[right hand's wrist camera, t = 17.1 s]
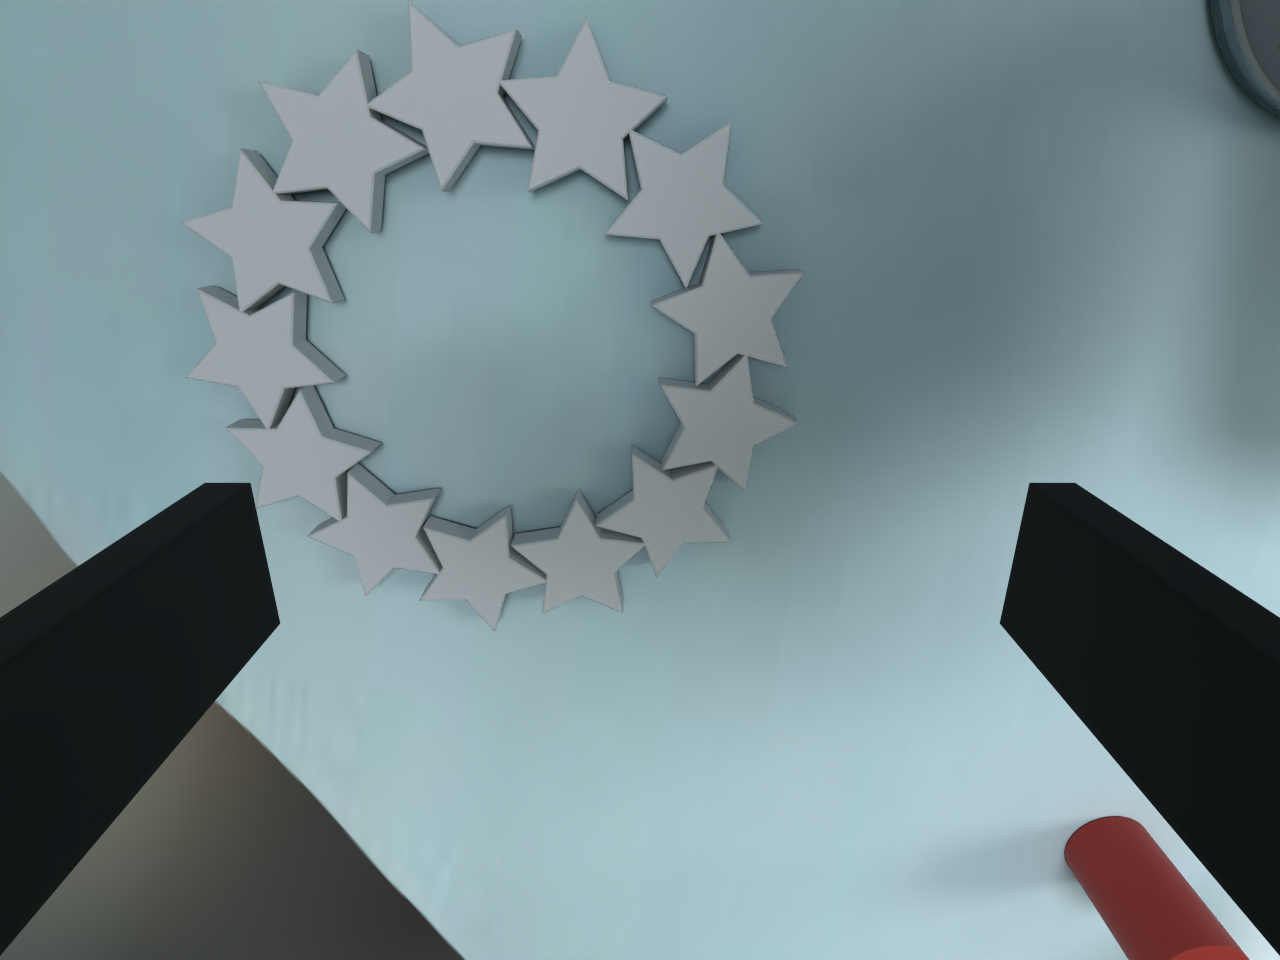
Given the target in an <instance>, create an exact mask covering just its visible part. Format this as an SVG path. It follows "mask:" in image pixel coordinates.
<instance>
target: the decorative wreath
mask: <svg viewBox="0 0 1280 960" xmlns="http://www.w3.org/2000/svg"><path fill="white" fill-rule="evenodd" d="M408 11H409V31H410V52H411V71H410V72H409V73H408V74H406V75H405V76H404V77H402V78H401V79H400V80H398V81H397V82H396V83H394V84H393V85H392V86H390V87H389V88H388V89H386V90H385V91H384V92H382V93H381V94H380V95H378V96H377V95H376V90H375V84H374V79H373V74H372V69H371V64H370V59H369V55H367V54H365V53H363V52H361V51H359V50H356V51H355V52H354V53H353V54H352V56H351V57H350V58H349V59H348V60H347V62H346V63H345V64H344V65H343V66H342V67H341V69H340V70H339V71H338V72H337V73H336V75H335V76H334V77H333V78H332V79H331V81H330V82H329V83H328V84H327V85H326V87H325V88H324V89H323V90H322V91H321V93H320V94H319V95H316V94H311V93H307V92H303V91H299V90H295V89H291V88H287V87H283V86H279V85H275V84H271V83H267V82H263V81H259V80H258V82H259V83H260V85H261V87H262V89H263V90H264V92H265V94H266V96H267V97H268V99H269V101H270V103H271V104H272V106H273V108H274V110H275V112H276V113H277V115H278V117H279V119H280V120H281V122H282V124H283V126H284V127H285V129H286V131H287V133H288V134H289V136H290V138H291V140H292V142H291V144H290V147H289V149H288V152H287V155H286V157H285V160H284V163H283V165H282V168H281V170H280V173H279V176H278V178H277V176H276V175H275V174H274V173H273V171H272V170H271V169H270V167H269V166H268V165H267V163H266V162H265V161H264V159H263V158H262V157H261V156H260V154H259V153H258V152H257V151H256V150H248V149H240V155H239V161H238V168H237V175H236V181H235V188H234V195H233V201H232V207H230V208H226V209H223V210H220V211H216V212H213V213H210V214H206V215H203V216H200V217H196V218H193V219H190V220H186V221H183V222H181V223H182V224H184V225H185V226H186V227H188V228H189V229H191V230H192V231H194V232H195V233H196V234H198V235H199V236H201V237H202V238H203V239H205V240H206V241H208V242H209V243H211V244H212V245H213V246H215V247H216V248H218V249H219V250H220V251H222V252H223V253H225V254H226V255H228V256H229V257H230V258H232V264H233V271H234V278H235V284H236V291H237V297H236V296H234V295H232V294H230V293H228V292H226V291H224V290H222V289H220V288H219V287H217V286H215V285H213V286H208V287H203V288H198V289H197V290H198V293H199V296H200V298H201V301H202V304H203V307H204V310H205V313H206V316H207V319H208V321H209V324H210V327H211V330H212V333H213V336H214V339H215V342H216V343H215V344H214V345H213V346H212V348H211V349H210V350H209V351H208V352H207V353H206V354H205V356H204V357H203V358H202V359H201V360H200V361H199V362H198V364H197V365H196V366H195V367H194V368H193V369H192V370H191V372H190V373H189V374H188V375H187V376H186V377H185V378H189V379H195V380H201V381H207V382H213V383H218V384H224V385H230V386H236V387H238V388H239V389H240V390H241V392H242V393H243V395H244V396H245V398H246V399H247V401H248V402H249V404H250V405H251V407H252V408H253V410H254V411H255V413H256V414H257V416H258V417H259V419H260V420H247V419H240V420H238V421H237V422H235V423H233V424H231V425H229V426H228V427H226V428H227V429H228V431H229V432H230V433H231V434H232V435H233V436H234V437H235V438H236V439H237V440H238V441H239V442H240V443H241V444H242V445H243V446H244V447H245V448H246V449H247V450H248V451H249V452H250V454H251V455H252V456H253V457H254V458H255V459H256V460H257V461H258V462H259V463H260V464H261V465H262V466H263V468H262V473H261V479H260V485H259V490H258V496H257V501H256V509H257V508H260V507H264V506H267V505H270V504H274V503H277V502H280V501H283V500H287V499H290V498H293V497H297V496H300V497H302V498H303V499H305V500H306V501H308V502H309V503H311V504H313V505H314V506H316V507H317V508H319V509H321V510H322V511H324V512H325V513H327V514H329V515H330V516H332V517H333V518H332V519H329V520H327V521H325V522H323V523H321V524H319V525H318V526H317V527H316V528H315V529H314V530H313V531H312V532H311V533H310V534H309V535H308V537H310V538H312V539H315V540H317V541H320V542H322V543H324V544H327V545H329V546H331V547H334V548H336V549H338V550H341V551H343V552H345V553H348V554H350V555H353V558H354V561H355V564H356V567H357V570H358V573H359V576H360V580H361V583H362V586H363V589H364V592H365V595H366V596H367V595H368V594H369V593H370V592H371V591H372V590H373V589H374V588H375V587H376V586H377V585H378V584H379V583H380V582H381V581H382V580H383V579H384V578H385V577H386V576H387V575H388V574H389V573H390V571H391V570H392V569H393V568H401V569H407V570H414V571H420V572H427V573H434V574H436V575H435V576H434V577H433V579H432V580H431V582H430V583H429V584H428V586H427V587H426V589H425V591H424V593H423V595H422V596H421V598H420V600H466V601H467V602H468V603H469V604H470V606H471V607H472V608H473V609H474V610H475V611H476V612H477V613H478V614H479V615H480V616H481V617H482V619H483V620H484V621H485V622H486V623H487V624H488V625H489V626H490V627H491V628H492V629H493V630H494V631H495V630H496V627H497V624H498V621H499V618H500V614H501V611H502V607H503V604H504V600H505V597H506V594H508V593H511V592H515V591H518V590H522V589H525V588H529V587H533V586H536V585H540V584H543V583H546V584H545V592H544V601H543V609H542V614H544V613H546V612H548V611H550V610H552V609H554V608H556V607H559V606H561V605H563V604H565V603H567V602H569V601H571V600H573V599H575V598H577V597H579V596H584V597H586V598H588V599H591V600H593V601H595V602H597V603H600V604H602V605H604V606H607V607H609V608H611V609H614V610H616V611H618V612H621V613H623V596H622V591H621V587H620V582H619V578H618V573H617V571H618V570H619V569H620V568H621V567H622V566H623V565H624V564H625V563H626V562H628V561H629V560H630V559H631V558H632V557H633V556H634V555H635V554H636V553H637V552H639V551H640V550H641V549H642V548H643V547H644V546H645V548H646V551H647V554H648V556H649V559H650V561H651V564H652V567H653V569H654V572H655V575H656V577H658V575H659V574H660V573H661V571H662V570H663V569H664V568H665V566H666V565H667V564H668V562H669V561H670V560H671V558H672V557H673V556H674V555H675V553H676V552H677V551H678V549H679V548H680V547H681V546H682V544H683V543H707V542H731V540H730V536H729V532H728V530H727V529H726V527H725V526H724V525H723V524H722V522H721V521H720V520H719V519H718V518H717V516H716V515H715V514H714V513H713V511H712V510H711V509H710V508H709V506H708V505H707V504H706V503H705V501H706V498H707V496H708V493H709V490H710V487H711V485H712V482H713V479H714V476H715V474H716V471H717V468H719V469H720V470H721V471H722V472H723V473H725V474H726V475H727V476H728V477H729V478H730V479H731V480H732V481H733V482H734V483H735V484H737V485H738V486H739V487H740V488H741V489H742V490H743V491H744V492H745V491H746V485H747V480H748V474H749V468H750V463H751V457H752V451H753V446H755V445H757V444H759V443H761V442H763V441H765V440H767V439H769V438H771V437H773V436H775V435H777V434H779V433H781V432H783V431H785V430H787V429H789V428H791V427H793V426H795V425H797V424H799V422H798V421H797V419H796V418H795V417H794V415H792V414H790V413H788V412H785V411H783V410H781V409H779V408H776V407H774V406H772V405H770V404H768V403H765V402H763V401H761V400H759V399H756V398H754V397H753V391H752V383H751V376H750V369H749V361H748V357H751V358H755V359H758V360H762V361H765V362H769V363H772V364H776V365H780V366H783V367H787V365H786V362H785V359H784V355H783V352H782V349H781V346H780V343H779V340H778V337H777V334H776V331H775V327H774V324H773V321H772V317H773V316H774V315H775V313H776V312H777V310H778V309H779V308H780V306H781V305H782V303H783V302H784V301H785V299H786V298H787V296H788V295H789V294H790V292H791V291H792V290H793V288H794V287H795V285H796V284H797V283H798V281H799V280H800V278H801V277H802V276H803V274H804V273H805V272H803V271H801V270H799V269H797V270H781V271H764V272H747V271H746V269H745V268H744V266H743V265H742V264H741V262H740V261H739V259H738V258H737V257H736V255H735V254H734V252H733V251H732V250H731V248H730V247H729V245H728V244H727V243H726V241H725V240H724V238H723V237H722V236H721V233H725V232H730V231H734V230H739V229H743V228H748V227H752V226H757V225H761V224H764V223H763V222H762V221H761V220H760V219H759V218H758V217H757V216H756V215H755V214H754V213H753V212H752V211H751V210H750V209H749V208H748V207H747V206H746V205H744V204H743V203H742V202H741V201H740V200H739V199H738V198H737V197H736V196H735V195H734V194H733V193H732V192H731V191H730V190H729V189H728V188H727V187H726V186H725V185H724V177H725V169H726V162H727V154H728V147H729V139H730V132H731V125H732V121H731V122H730V123H728V124H727V125H725V126H723V127H722V128H720V129H719V130H717V131H716V132H714V133H713V134H711V135H710V136H708V137H707V138H705V139H704V140H702V141H700V142H699V143H697V144H696V145H694V146H693V147H691V148H690V149H688V150H687V151H685V152H684V153H682V154H680V153H678V152H675V151H673V150H671V149H669V148H667V147H665V146H663V145H661V144H659V143H657V142H655V141H653V140H651V139H649V138H647V137H645V136H643V135H641V134H639V133H637V132H635V130H636V129H637V128H638V127H639V126H640V125H641V124H642V123H643V122H644V121H645V120H646V119H648V118H649V117H650V116H651V115H652V114H653V113H654V112H655V111H656V110H657V109H658V108H659V107H660V106H662V105H663V104H664V103H665V102H666V101H667V98H668V96H665V95H661V94H657V93H653V92H650V91H646V90H642V89H638V88H635V87H631V86H627V85H623V84H619V83H616V82H612V81H610V80H609V77H608V74H607V71H606V69H605V66H604V63H603V61H602V58H601V55H600V52H599V50H598V47H597V44H596V41H595V39H594V36H593V33H592V31H591V28H590V25H589V22H588V20H587V17H586V18H585V20H584V22H583V24H582V26H581V28H580V30H579V32H578V34H577V36H576V38H575V40H574V42H573V44H572V46H571V48H570V50H569V52H568V54H567V56H566V58H565V60H564V62H563V64H562V66H561V68H560V70H559V72H558V74H557V76H551V77H538V78H524V79H511V80H509V77H510V74H511V71H512V67H513V64H514V61H515V58H516V54H517V51H518V48H519V44H520V41H521V38H522V35H521V34H520V33H519V31H518V30H517V29H515V30H512V31H509V32H505V33H502V34H499V35H495V36H492V37H489V38H486V39H482V40H479V41H476V42H472V43H469V44H466V45H463V46H458V45H457V44H456V43H455V42H454V41H453V40H452V39H451V38H450V37H448V36H447V35H446V34H445V33H444V32H443V31H442V30H441V29H440V28H439V27H437V26H436V25H435V24H434V23H433V22H432V21H431V20H430V19H429V18H428V17H426V16H425V15H424V14H423V13H422V12H421V11H420V10H419V9H418V8H416V7H415V6H414V5H413V4H412V3H411V2H409V1H408ZM505 91H506V92H507V93H508V95H509V96H510V97H511V98H512V99H513V101H514V102H515V103H516V104H517V105H518V107H519V108H520V109H521V110H522V111H523V113H524V114H525V115H526V116H527V118H528V119H529V120H530V121H531V122H532V124H533V125H534V126H535V127H536V128H537V130H538V136H537V141H536V147H534V145H533V144H532V142H531V140H530V139H529V137H528V136H527V134H526V132H525V131H524V129H523V128H522V126H521V124H520V123H519V121H518V120H517V118H516V116H515V115H514V113H513V112H512V110H511V108H510V107H509V105H508V104H507V102H506V101H505V99H504V93H505ZM380 113H383V114H385V115H387V116H390V117H392V118H394V119H397V120H399V121H402V122H404V123H406V124H409V125H411V126H414V127H416V128H418V129H421V130H422V132H423V135H424V138H425V141H426V144H427V147H426V146H425V145H423V144H421V143H420V142H418V141H416V140H414V139H413V138H411V137H409V136H408V135H406V134H404V133H403V132H401V131H399V130H398V129H396V128H394V127H393V126H391V125H389V124H387V123H386V122H384V121H382V120H381V115H380ZM628 136H630V141H631V145H632V150H633V155H634V159H635V164H636V169H637V173H638V178H639V182H640V187H641V191H640V192H639V193H638V194H637V195H636V197H635V198H634V199H633V200H632V201H631V203H630V204H629V205H628V206H627V207H626V209H625V210H624V211H623V212H622V213H621V215H620V216H619V217H618V218H617V219H616V221H615V222H614V223H613V224H612V225H611V227H610V228H609V229H608V230H607V231H606V233H605V234H604V235H615V236H626V237H638V238H649V239H659V240H660V241H661V243H662V245H663V247H664V249H665V251H666V252H667V254H668V256H669V258H670V260H671V262H672V264H673V265H674V267H675V269H676V271H677V273H678V275H679V276H680V278H681V280H682V282H683V284H684V286H685V288H684V289H682V290H679V291H676V292H674V293H671V294H668V295H666V296H663V297H661V298H658V299H655V300H653V301H651V306H653V307H654V308H656V309H657V310H659V311H660V312H662V313H663V314H665V315H666V316H668V317H669V318H671V319H673V320H674V321H676V322H677V323H679V324H680V325H682V326H683V327H685V328H686V329H688V330H689V331H691V332H692V333H694V380H695V382H689V381H681V380H673V379H665V378H659V385H660V386H661V388H662V390H663V392H664V393H665V395H666V397H667V399H668V400H669V402H670V404H671V406H672V407H673V409H674V411H675V412H676V414H677V416H678V418H679V419H680V421H681V423H680V425H679V427H678V429H677V431H676V433H675V435H674V437H673V439H672V441H671V443H670V445H669V447H668V449H667V451H666V453H665V455H664V457H663V458H662V460H661V463H659V462H658V461H656V460H655V459H653V458H652V457H650V456H649V455H647V454H646V453H644V452H643V451H641V450H640V449H638V448H637V447H635V446H634V445H632V474H633V490H632V491H630V492H629V493H627V494H626V495H624V496H623V497H622V498H620V499H619V500H617V501H616V502H614V503H613V504H612V505H610V506H609V507H607V508H606V509H605V510H603V511H602V512H600V513H599V514H597V518H596V517H595V516H594V514H593V512H592V510H591V509H590V507H589V505H588V504H587V502H586V500H585V499H584V497H583V495H582V494H581V492H580V490H579V489H578V491H577V493H576V495H575V497H574V499H573V502H572V504H571V506H570V508H569V510H568V512H567V514H566V516H565V518H564V520H563V522H562V524H561V526H560V527H558V528H552V529H545V530H538V531H532V532H525V533H518V534H515V536H514V538H513V532H512V516H511V504H510V505H509V506H507V507H506V508H504V509H503V510H502V511H500V512H499V513H497V514H496V515H495V516H493V517H492V518H491V519H489V520H488V521H486V522H485V523H484V524H482V525H481V526H479V527H478V528H477V529H473V528H470V527H466V526H463V525H459V524H456V523H453V522H449V521H446V520H442V519H439V518H435V517H432V516H430V517H429V519H428V520H427V522H426V524H425V525H424V523H425V521H426V518H427V516H428V514H429V512H430V510H431V508H432V506H433V503H434V501H435V499H436V497H437V495H438V493H439V491H440V488H437V489H431V490H424V491H417V492H410V493H404V494H397V495H395V494H394V493H392V492H391V491H390V490H389V489H388V488H387V487H385V486H384V485H383V484H382V483H381V482H379V481H378V480H377V479H376V478H375V477H374V476H372V475H371V474H370V473H369V472H368V471H367V470H365V469H364V468H363V467H362V466H361V465H359V464H358V463H357V462H359V461H360V460H362V459H363V458H364V457H366V456H367V455H369V454H370V453H371V452H373V451H374V450H375V449H376V448H377V447H378V446H379V445H380V444H381V443H380V442H377V441H374V440H370V439H367V438H364V437H361V436H357V435H354V434H351V433H348V432H344V431H341V430H338V429H335V428H333V426H332V424H331V422H330V419H329V417H328V415H327V413H326V411H325V409H324V407H323V404H322V402H321V400H320V398H319V396H318V394H317V392H316V389H315V387H314V385H319V384H327V383H335V382H337V381H338V380H340V379H342V378H343V377H345V376H346V375H345V374H343V373H342V372H341V371H340V370H339V369H338V368H337V367H336V366H334V365H333V364H332V363H331V362H330V361H329V360H328V359H327V358H326V357H324V356H323V355H322V354H321V353H320V352H319V351H318V350H317V349H315V348H314V347H313V346H312V345H311V344H310V343H309V342H308V341H307V340H306V310H307V294H309V295H311V296H314V297H317V298H319V299H322V300H325V301H328V302H330V303H336V302H338V301H341V300H344V297H343V295H342V293H341V290H340V288H339V285H338V283H337V281H336V278H335V276H334V274H333V271H332V269H331V267H330V264H329V262H328V260H327V257H326V255H325V252H324V250H323V248H322V247H323V245H324V243H325V242H326V240H327V239H328V237H329V235H330V234H331V232H332V231H333V229H334V227H335V226H336V224H337V223H338V221H339V219H340V218H341V216H342V214H343V213H344V211H345V210H346V208H347V209H348V210H349V211H350V212H351V213H352V214H353V215H354V216H355V217H356V219H357V220H358V221H359V222H360V223H361V224H362V225H363V226H364V227H365V228H366V229H367V230H368V231H369V232H370V233H374V232H381V224H382V210H383V197H384V183H385V174H387V173H389V172H391V171H393V170H395V169H398V168H400V167H402V166H404V165H406V164H408V163H410V162H412V161H414V160H416V159H418V158H420V157H422V156H424V155H426V154H428V153H429V154H430V157H431V160H432V163H433V167H434V170H435V173H436V176H437V179H438V182H439V186H440V189H441V191H450V190H451V188H452V187H453V185H454V184H455V182H456V181H457V179H458V178H459V176H460V175H461V173H462V172H463V170H464V169H465V167H466V166H467V165H468V163H469V162H470V160H471V159H472V157H473V156H474V154H475V153H476V151H477V150H478V148H479V147H480V145H485V146H497V147H508V148H520V149H532V150H535V152H534V158H533V163H532V169H531V174H530V180H529V185H528V191H527V192H533V191H535V190H537V189H539V188H542V187H544V186H546V185H548V184H550V183H552V182H555V181H557V180H559V179H561V178H563V177H565V176H568V175H570V174H572V173H574V172H576V171H578V170H580V169H582V170H583V171H585V172H586V173H588V174H589V175H590V176H592V177H593V178H595V179H596V180H598V181H599V182H601V183H602V184H604V185H605V186H607V187H608V188H610V189H611V190H613V191H614V192H616V193H617V194H619V195H620V196H622V197H623V198H625V199H626V200H628V189H627V177H626V165H625V153H624V140H625V139H626V138H627V137H628ZM327 189H329V190H330V191H331V192H332V193H333V195H334V196H335V197H336V198H337V199H338V200H339V201H340V202H316V201H295V200H294V199H293V197H292V196H291V195H290V194H294V193H302V192H310V191H319V190H327ZM712 235H713V237H712V241H711V244H710V248H709V251H708V255H707V258H706V262H705V265H704V269H703V273H702V276H701V280H700V283H697V284H695V285H692V286H689V287H687V286H688V284H689V281H690V279H691V277H692V274H693V272H694V270H695V268H696V265H697V263H698V261H699V258H700V256H701V254H702V251H703V249H704V247H705V244H706V242H707V240H708V238H709V236H712ZM285 286H287V287H290V288H293V289H295V290H298V291H296V292H293V293H291V294H289V295H288V296H286V297H284V298H282V299H280V300H278V301H276V302H274V303H273V304H271V305H269V306H267V307H265V308H263V309H259V308H258V307H259V306H260V305H262V304H263V303H264V302H266V301H267V300H268V299H269V298H271V297H272V296H273V295H274V294H276V293H277V292H278V291H280V290H281V289H282V288H283V287H285ZM731 359H732V360H731ZM729 360H731V361H730V362H729V363H728V364H727V365H726V366H725V367H724V368H723V369H722V370H721V371H720V372H719V373H718V374H717V375H716V376H715V377H714V378H713V379H712V380H711V381H710V382H709V383H708V384H705V383H701V382H703V381H704V380H705V379H706V378H708V377H709V376H710V375H711V374H713V373H714V372H715V371H717V370H718V369H719V368H720V367H722V366H723V365H724V364H725V363H727V362H728V361H729ZM301 386H305V387H303V388H301V389H300V390H299V392H298V393H297V395H296V397H295V398H294V400H293V402H292V404H291V405H290V407H289V409H288V410H287V408H288V405H289V403H290V400H291V397H292V395H293V392H294V389H295V387H301ZM286 411H287V412H286ZM285 413H286V414H285ZM356 463H357V464H356ZM354 464H356V465H355V466H354V467H353V468H352V469H351V470H350V471H349V472H348V477H347V473H346V470H347V469H349V468H350V467H352V466H353V465H354ZM677 467H679V468H677ZM672 468H676V469H673V470H670V469H672ZM423 525H424V526H423Z"/></svg>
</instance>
